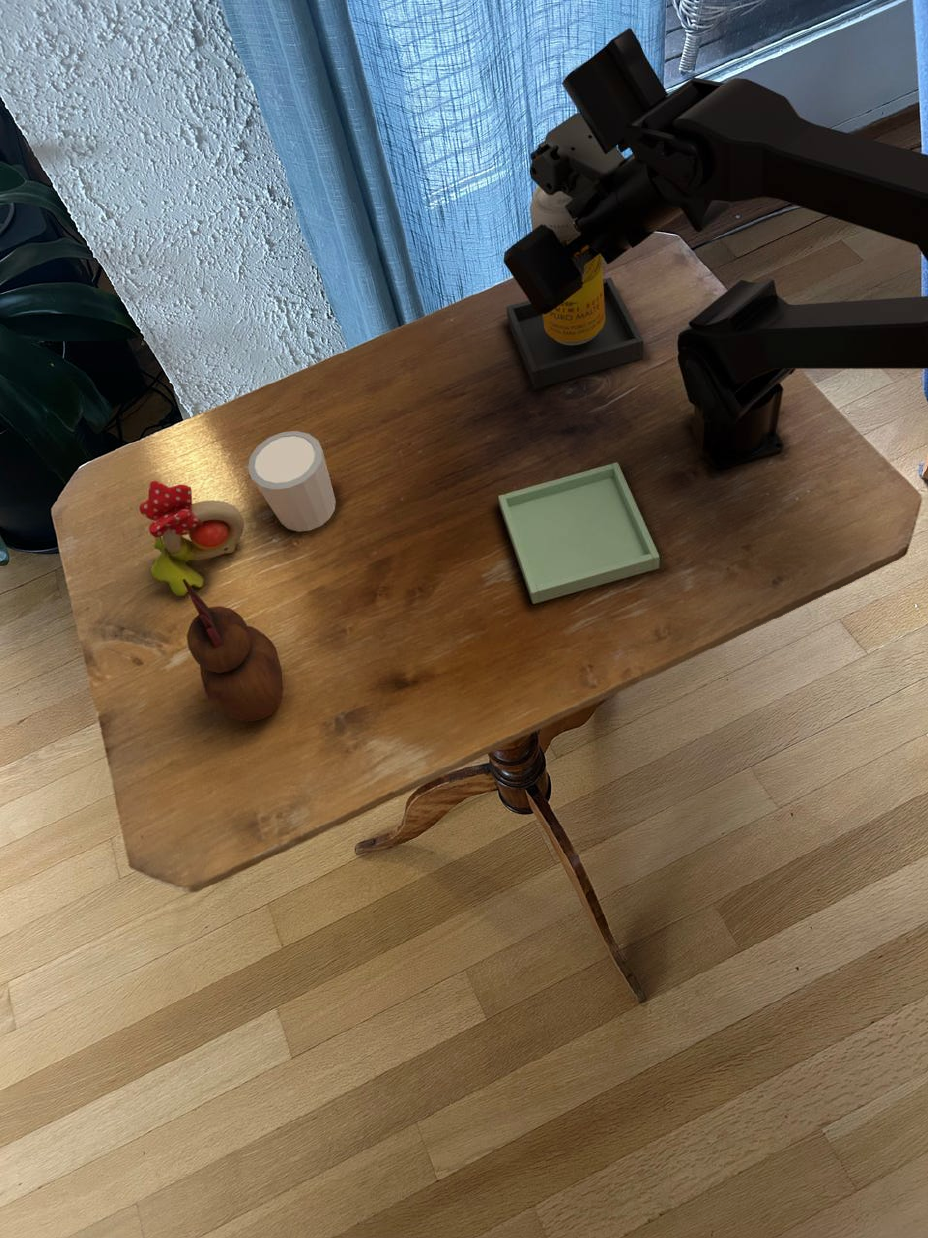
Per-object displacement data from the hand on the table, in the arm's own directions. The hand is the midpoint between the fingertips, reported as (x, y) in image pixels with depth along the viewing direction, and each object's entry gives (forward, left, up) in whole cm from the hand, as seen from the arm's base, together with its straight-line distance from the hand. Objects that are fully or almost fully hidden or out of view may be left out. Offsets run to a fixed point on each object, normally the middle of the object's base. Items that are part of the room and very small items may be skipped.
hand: (559, 257), depth 93 cm
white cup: (+29, +13, -10) cm, 34 cm away
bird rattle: (+39, +16, -10) cm, 44 cm away
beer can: (-1, +1, -8) cm, 8 cm away
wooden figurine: (+36, +32, -10) cm, 49 cm away
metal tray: (-1, +1, -9) cm, 10 cm away
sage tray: (+6, +25, -9) cm, 28 cm away
